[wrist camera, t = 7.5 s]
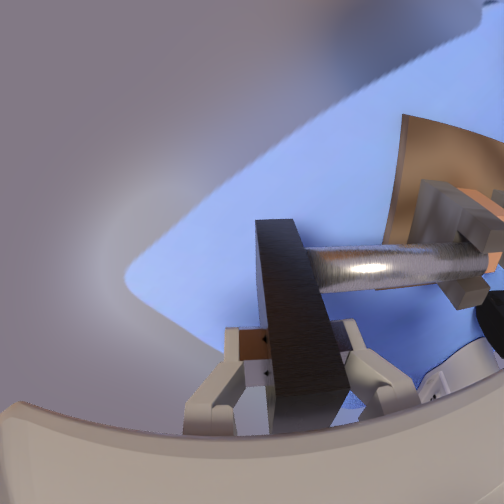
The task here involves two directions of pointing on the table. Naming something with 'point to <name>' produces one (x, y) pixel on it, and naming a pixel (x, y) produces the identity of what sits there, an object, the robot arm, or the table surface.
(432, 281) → the shaft
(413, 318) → the table surface
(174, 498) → the robot arm
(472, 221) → the shaft stand
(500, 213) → the block
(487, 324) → the handheld gaming console
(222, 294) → the table surface
